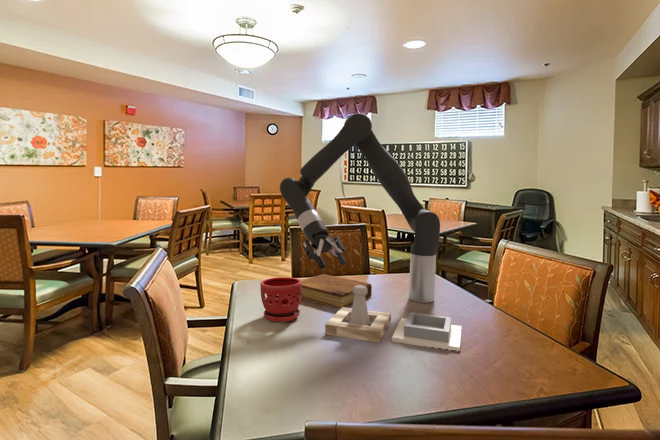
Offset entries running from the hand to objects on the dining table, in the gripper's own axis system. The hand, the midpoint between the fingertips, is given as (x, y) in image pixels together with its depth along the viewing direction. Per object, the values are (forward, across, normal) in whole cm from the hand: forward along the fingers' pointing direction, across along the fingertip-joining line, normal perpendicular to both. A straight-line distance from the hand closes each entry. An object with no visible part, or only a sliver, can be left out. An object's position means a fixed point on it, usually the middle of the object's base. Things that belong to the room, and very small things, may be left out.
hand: (334, 266), depth 128 cm
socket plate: (+32, +12, -8) cm, 35 cm away
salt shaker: (+20, 0, +4) cm, 21 cm away
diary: (0, +15, +25) cm, 29 cm away
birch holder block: (+20, 0, +4) cm, 21 cm away
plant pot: (+5, -13, +20) cm, 24 cm away
